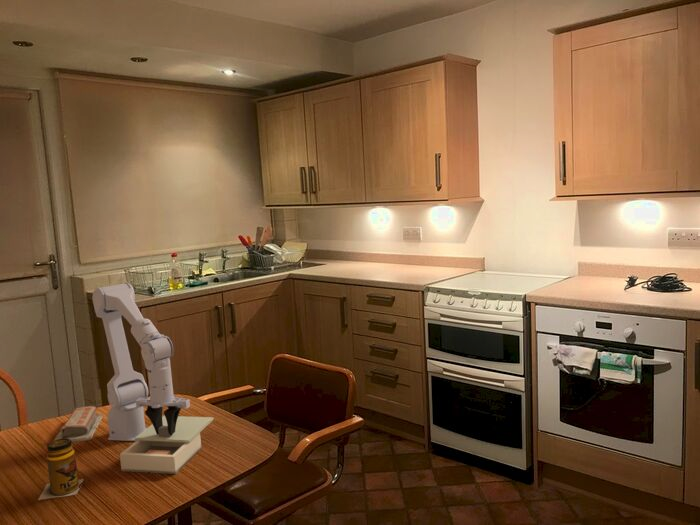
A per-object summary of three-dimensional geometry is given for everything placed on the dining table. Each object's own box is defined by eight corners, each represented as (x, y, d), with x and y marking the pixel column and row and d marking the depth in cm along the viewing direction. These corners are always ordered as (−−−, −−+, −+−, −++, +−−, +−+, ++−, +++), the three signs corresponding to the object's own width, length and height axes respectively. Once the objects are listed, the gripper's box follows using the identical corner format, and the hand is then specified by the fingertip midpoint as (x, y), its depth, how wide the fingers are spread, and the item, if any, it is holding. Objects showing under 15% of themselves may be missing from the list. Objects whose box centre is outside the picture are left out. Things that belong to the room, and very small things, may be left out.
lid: (134, 440, 152) (133, 430, 152) (163, 417, 166) (162, 408, 166) (189, 442, 149) (188, 432, 149) (213, 419, 163) (212, 410, 163)
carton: (121, 471, 146) (119, 454, 145) (151, 445, 159) (149, 430, 159) (175, 474, 143) (174, 456, 142) (201, 448, 156) (200, 432, 156)
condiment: (77, 494, 135) (70, 446, 134) (37, 500, 134) (31, 452, 132) (83, 479, 143) (78, 433, 141) (46, 485, 141) (40, 438, 139)
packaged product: (68, 406, 181) (102, 402, 183) (70, 421, 181) (103, 417, 183) (51, 430, 163) (89, 425, 165) (53, 446, 164) (91, 441, 166)
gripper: (127, 388, 149) (132, 438, 150) (178, 389, 145) (183, 440, 147) (142, 379, 155) (147, 427, 157) (191, 380, 152) (196, 429, 154)
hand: (165, 433), depth 153 cm, fingers closed on lid, 3 cm apart
